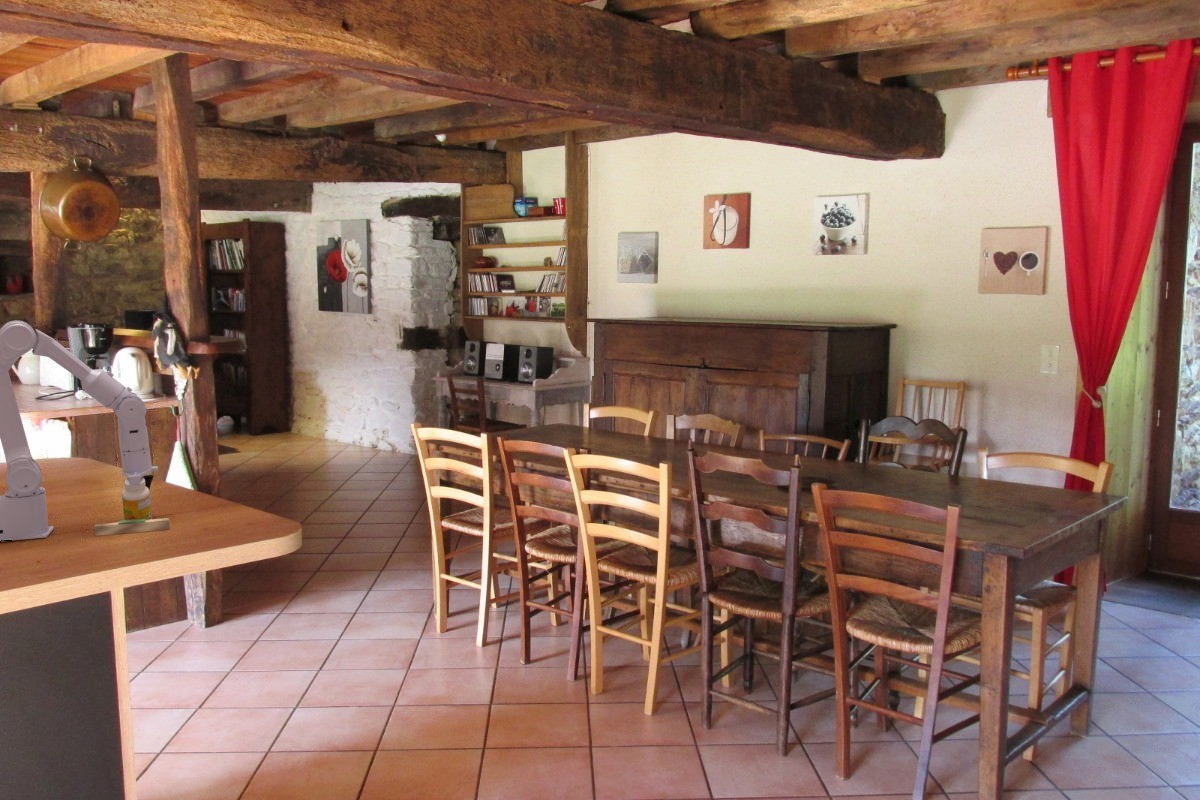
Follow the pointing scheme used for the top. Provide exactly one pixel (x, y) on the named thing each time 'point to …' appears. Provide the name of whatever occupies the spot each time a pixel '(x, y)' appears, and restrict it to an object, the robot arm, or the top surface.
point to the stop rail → (131, 526)
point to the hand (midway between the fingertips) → (142, 510)
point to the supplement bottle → (136, 501)
